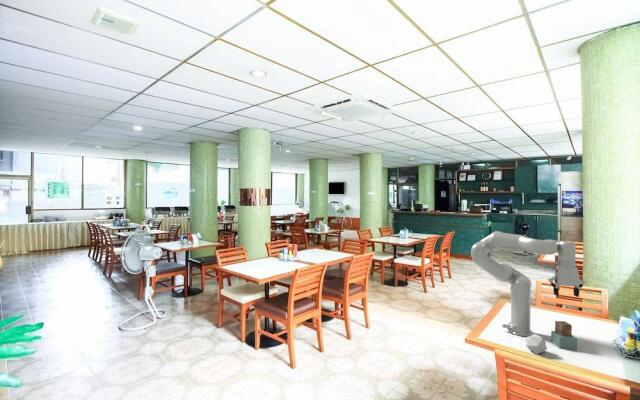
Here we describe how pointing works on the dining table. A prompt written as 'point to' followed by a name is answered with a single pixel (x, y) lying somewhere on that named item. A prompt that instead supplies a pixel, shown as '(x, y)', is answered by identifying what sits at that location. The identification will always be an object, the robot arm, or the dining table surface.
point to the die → (535, 344)
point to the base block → (564, 341)
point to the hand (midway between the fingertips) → (566, 295)
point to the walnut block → (563, 328)
